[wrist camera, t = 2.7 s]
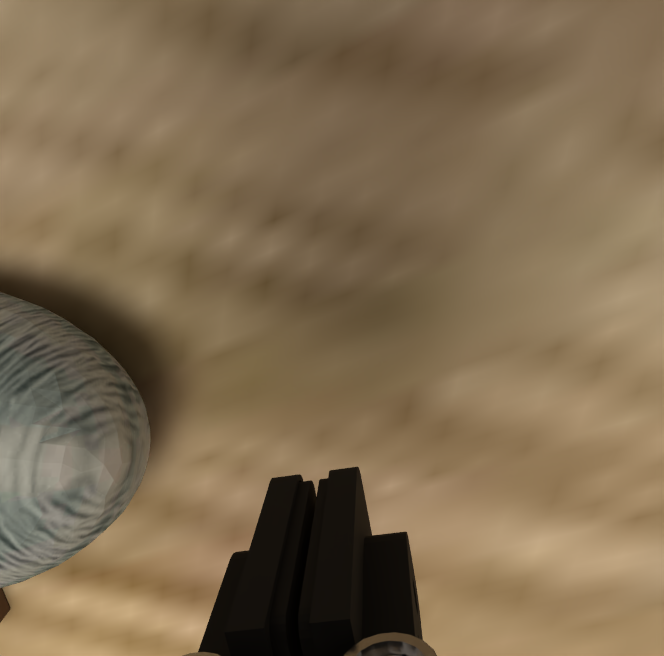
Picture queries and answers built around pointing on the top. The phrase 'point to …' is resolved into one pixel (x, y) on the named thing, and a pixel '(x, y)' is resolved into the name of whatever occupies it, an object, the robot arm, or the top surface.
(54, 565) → the grey rounded piece
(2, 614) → the guide channel
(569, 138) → the top surface
